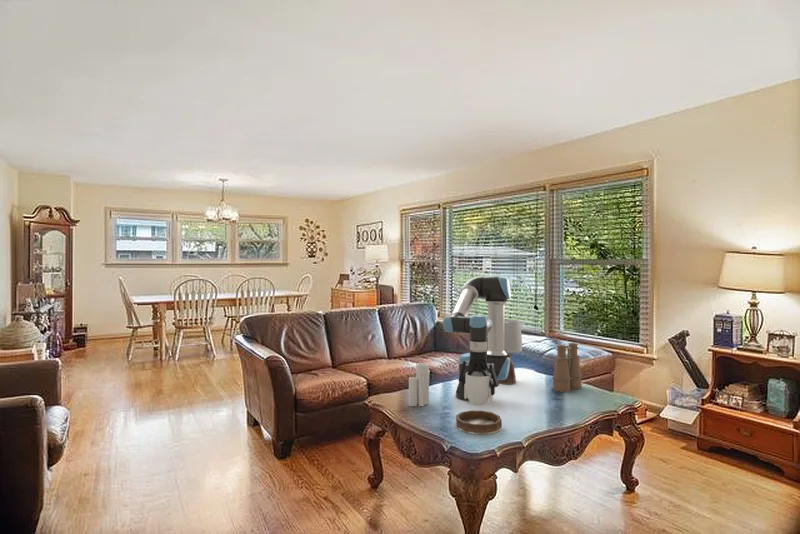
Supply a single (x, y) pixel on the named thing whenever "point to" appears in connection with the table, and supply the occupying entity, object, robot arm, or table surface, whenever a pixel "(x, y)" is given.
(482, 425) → the holder
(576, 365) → the binoculars
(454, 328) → the robot arm
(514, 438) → the table surface
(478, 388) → the mug
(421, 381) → the vase
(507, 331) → the lamp
